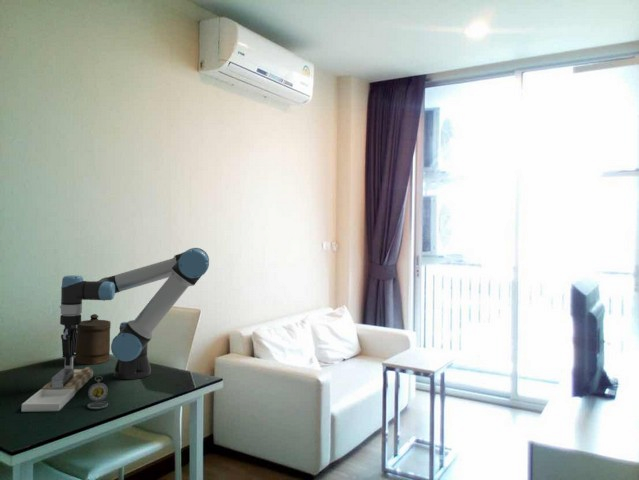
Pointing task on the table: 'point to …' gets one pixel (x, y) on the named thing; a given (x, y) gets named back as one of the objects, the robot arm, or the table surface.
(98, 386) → the pocket watch
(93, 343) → the wooden container
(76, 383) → the slot board
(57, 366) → the table surface
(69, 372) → the grey square block
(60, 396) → the tray
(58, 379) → the grey cubic block
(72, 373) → the gray cube
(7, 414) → the table surface
